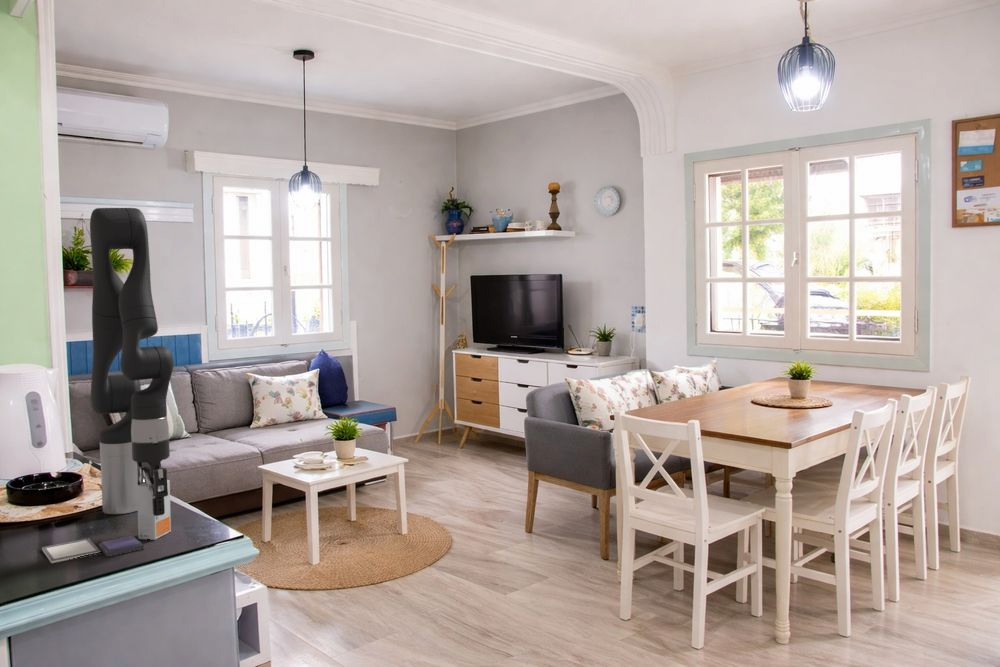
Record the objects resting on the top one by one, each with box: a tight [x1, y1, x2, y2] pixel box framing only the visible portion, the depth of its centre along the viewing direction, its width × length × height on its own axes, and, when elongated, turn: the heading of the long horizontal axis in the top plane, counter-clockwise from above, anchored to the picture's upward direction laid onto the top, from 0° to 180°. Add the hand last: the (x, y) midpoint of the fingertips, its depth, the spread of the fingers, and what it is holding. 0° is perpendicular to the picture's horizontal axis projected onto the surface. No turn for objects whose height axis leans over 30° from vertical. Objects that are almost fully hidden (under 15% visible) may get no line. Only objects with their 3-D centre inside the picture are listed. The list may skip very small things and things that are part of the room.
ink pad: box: [98, 535, 144, 557], centre depth 168 cm, size 7×7×1 cm
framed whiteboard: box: [41, 537, 101, 564], centre depth 167 cm, size 10×9×1 cm
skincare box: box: [137, 479, 172, 541], centre depth 176 cm, size 6×4×12 cm
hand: (153, 510), depth 175 cm, fingers open, 8 cm apart
